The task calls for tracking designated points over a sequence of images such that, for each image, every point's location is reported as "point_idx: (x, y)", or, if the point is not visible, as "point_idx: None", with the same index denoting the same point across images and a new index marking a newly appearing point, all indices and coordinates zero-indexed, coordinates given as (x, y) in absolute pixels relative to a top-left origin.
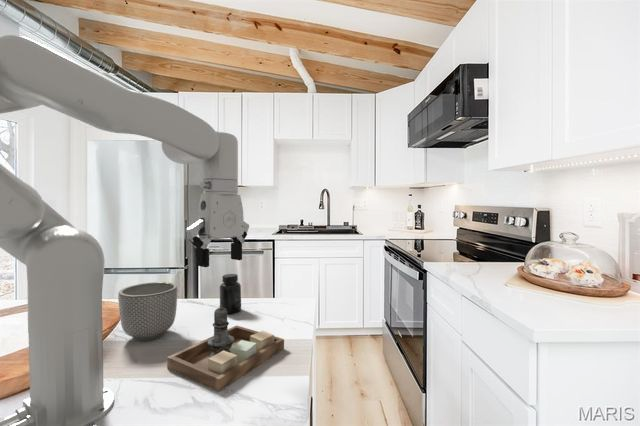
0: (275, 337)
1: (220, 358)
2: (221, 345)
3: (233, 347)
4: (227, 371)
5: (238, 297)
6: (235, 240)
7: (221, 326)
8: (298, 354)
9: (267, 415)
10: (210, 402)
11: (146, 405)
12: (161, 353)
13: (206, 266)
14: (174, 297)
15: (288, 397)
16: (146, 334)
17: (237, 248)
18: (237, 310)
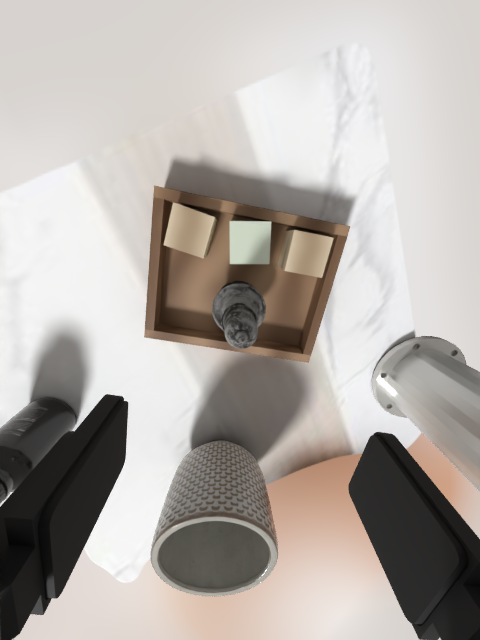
0: (156, 212)
1: (315, 254)
2: (259, 293)
3: (266, 259)
4: (323, 228)
5: (20, 422)
6: (3, 628)
7: (253, 309)
8: (160, 149)
9: (369, 108)
10: (357, 228)
11: (381, 311)
12: (260, 398)
13: (390, 436)
14: (193, 495)
15: (314, 92)
16: (248, 451)
17: (80, 491)
18: (49, 400)
